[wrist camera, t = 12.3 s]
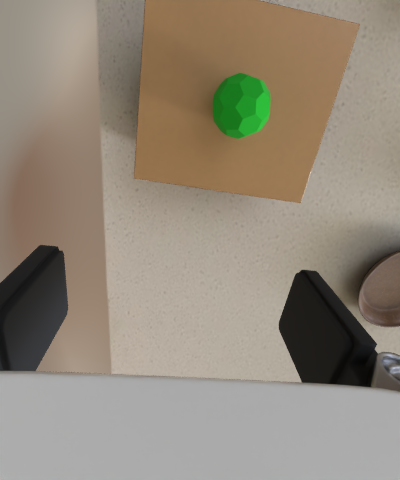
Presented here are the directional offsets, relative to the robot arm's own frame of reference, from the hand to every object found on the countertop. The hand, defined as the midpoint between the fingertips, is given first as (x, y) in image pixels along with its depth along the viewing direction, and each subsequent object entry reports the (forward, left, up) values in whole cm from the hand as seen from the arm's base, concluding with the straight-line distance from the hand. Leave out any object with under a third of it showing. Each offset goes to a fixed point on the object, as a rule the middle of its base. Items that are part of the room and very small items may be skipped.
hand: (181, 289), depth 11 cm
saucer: (+36, -13, -26) cm, 46 cm away
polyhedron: (+4, +7, -19) cm, 21 cm away
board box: (+4, +7, -26) cm, 27 cm away
